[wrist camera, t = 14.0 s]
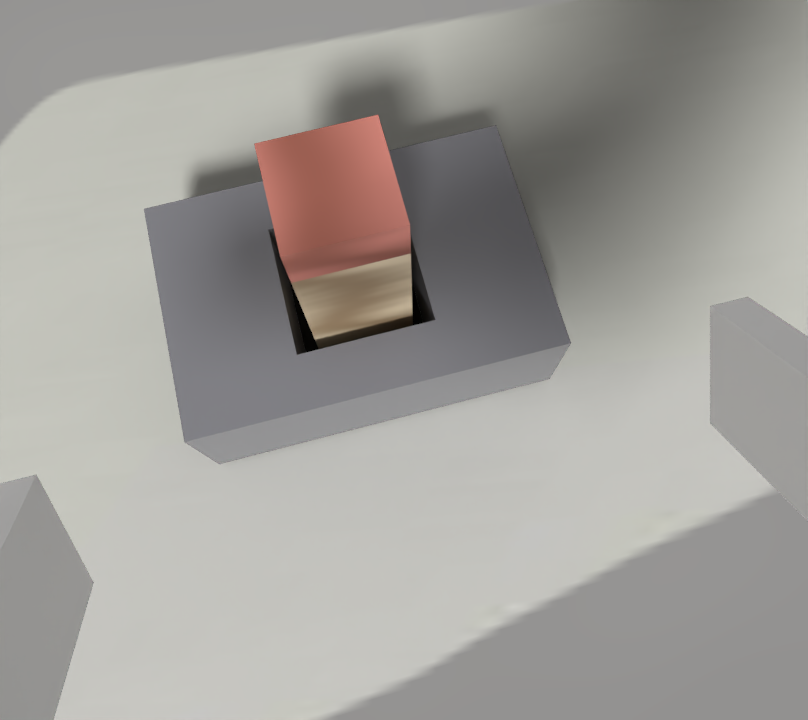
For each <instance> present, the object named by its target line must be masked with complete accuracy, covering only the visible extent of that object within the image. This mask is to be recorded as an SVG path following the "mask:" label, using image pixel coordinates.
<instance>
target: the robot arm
mask: <svg viewBox="0 0 808 720" xmlns="http://www.w3.org/2000/svg"><path fill="white" fill-rule="evenodd" d="M710 424H711V425H712V426H713V427H714V428H715V429H716V430H717V431H718V432H719V433H720V434H721V435H722V436H723V437H724V438H725V439H726V440H727V441H728V442H729V443H730V444H731V445H732V446H733V447H734V448H735V449H736V450H737V451H738V452H739V453H740V454H741V455H742V456H743V457H744V458H745V459H746V460H747V461H748V462H749V463H750V464H751V465H752V466H753V467H754V468H755V469H756V470H757V471H758V472H759V473H760V474H761V475H762V476H763V477H764V478H765V479H766V480H767V481H768V482H769V483H770V484H771V485H772V486H773V487H774V488H775V489H776V490H777V491H778V492H779V493H780V494H781V495H782V496H783V497H784V498H785V499H786V500H787V501H788V502H789V503H790V504H791V505H792V506H793V507H794V508H795V509H796V510H797V511H798V512H799V513H800V514H801V515H802V516H803V517H804V518H805V519H806V520H807V521H808V336H806V335H805V334H803V333H802V332H800V331H799V330H797V329H796V328H794V327H793V326H791V325H790V324H788V323H787V322H785V321H784V320H782V319H781V318H779V317H778V316H776V315H775V314H773V313H772V312H770V311H769V310H767V309H766V308H764V307H763V306H761V305H760V304H758V303H757V302H755V301H754V300H752V299H751V298H749V297H745V298H741V299H737V300H733V301H729V302H725V303H721V304H717V305H713V306H710ZM93 583H94V582H93V580H92V579H91V577H90V575H89V573H88V571H87V569H86V567H85V565H84V563H83V562H82V560H81V558H80V556H79V554H78V552H77V550H76V548H75V546H74V545H73V543H72V541H71V539H70V537H69V535H68V533H67V531H66V529H65V528H64V526H63V524H62V522H61V520H60V518H59V516H58V514H57V512H56V511H55V509H54V507H53V505H52V503H51V501H50V499H49V497H48V495H47V494H46V492H45V490H44V488H43V486H42V484H41V482H40V480H39V478H38V477H37V475H33V476H29V477H25V478H21V479H17V480H13V481H9V482H5V483H1V484H0V720H54V716H55V713H56V709H57V706H58V703H59V699H60V696H61V692H62V689H63V686H64V682H65V679H66V675H67V672H68V668H69V665H70V662H71V658H72V655H73V651H74V648H75V645H76V641H77V638H78V634H79V631H80V627H81V624H82V621H83V617H84V614H85V610H86V607H87V604H88V600H89V597H90V593H91V590H92V586H93Z"/></svg>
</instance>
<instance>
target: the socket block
mask: <svg viewBox="0 0 808 720" xmlns="http://www.w3.org/2000/svg"><path fill="white" fill-rule="evenodd" d="M389 154H390V157H391V161H392V164H393V168H394V171H395V174H396V178H397V181H398V185H399V188H400V192H401V195H402V199H403V202H404V205H405V209H406V212H407V216H408V219H409V223H410V238H411V273H412V285H413V289H414V292H415V296H416V299H417V303H418V306H419V310H420V313H421V317H422V321H423V323H421V324H417V325H413V326H409V327H405V328H401V329H397V330H393V331H389V332H385V333H381V334H377V335H373V336H369V337H365V338H362V339H358V340H354V341H350V342H346V343H342V344H338V345H334V346H330V347H326V348H322V349H318V350H314V351H310V352H306V350H305V346H304V342H303V337H302V333H301V329H300V324H299V320H298V316H297V312H296V307H295V303H294V299H293V294H292V290H291V286H290V281H289V276H288V274H287V272H286V269H285V267H284V265H283V262H282V260H281V257H280V254H279V249H278V245H277V241H276V236H275V232H274V227H273V223H272V219H271V214H270V210H269V206H268V201H267V197H266V193H265V188H264V184H263V181H259V182H255V183H251V184H247V185H243V186H238V187H234V188H230V189H226V190H222V191H217V192H213V193H209V194H205V195H201V196H196V197H192V198H188V199H184V200H180V201H175V202H171V203H167V204H163V205H159V206H154V207H150V208H146V209H144V212H145V218H146V223H147V229H148V235H149V241H150V246H151V252H152V258H153V264H154V269H155V275H156V281H157V287H158V292H159V298H160V304H161V310H162V315H163V321H164V327H165V333H166V338H167V344H168V350H169V356H170V361H171V367H172V373H173V379H174V384H175V390H176V396H177V402H178V407H179V413H180V419H181V425H182V430H183V436H184V442H185V443H187V444H188V445H190V446H191V447H193V448H195V449H196V450H198V451H199V452H201V453H202V454H204V455H206V456H207V457H209V458H210V459H212V460H213V461H215V462H217V463H218V464H221V463H225V462H229V461H233V460H237V459H241V458H244V457H248V456H252V455H256V454H260V453H264V452H268V451H272V450H275V449H279V448H283V447H287V446H291V445H295V444H299V443H303V442H306V441H310V440H314V439H318V438H322V437H326V436H330V435H334V434H337V433H341V432H345V431H349V430H353V429H357V428H361V427H365V426H368V425H372V424H376V423H380V422H384V421H388V420H392V419H396V418H399V417H403V416H407V415H411V414H415V413H419V412H423V411H426V410H430V409H434V408H438V407H442V406H446V405H450V404H454V403H457V402H461V401H465V400H469V399H473V398H477V397H481V396H485V395H488V394H492V393H496V392H500V391H504V390H508V389H512V388H516V387H519V386H523V385H527V384H531V383H535V382H539V381H543V380H547V379H550V377H551V375H552V374H553V372H554V370H555V369H556V367H557V365H558V364H559V362H560V360H561V359H562V357H563V356H564V354H565V352H566V351H567V349H568V347H569V346H570V344H571V342H570V339H569V336H568V333H567V330H566V327H565V324H564V322H563V319H562V316H561V313H560V310H559V307H558V304H557V301H556V298H555V295H554V292H553V290H552V287H551V284H550V281H549V278H548V275H547V272H546V269H545V266H544V263H543V261H542V258H541V255H540V252H539V249H538V246H537V243H536V240H535V237H534V234H533V231H532V229H531V226H530V223H529V220H528V217H527V214H526V211H525V208H524V205H523V202H522V200H521V197H520V194H519V191H518V188H517V185H516V182H515V179H514V176H513V173H512V171H511V168H510V165H509V162H508V159H507V156H506V153H505V150H504V147H503V144H502V141H501V139H500V136H499V133H498V130H497V127H496V125H495V126H491V127H486V128H482V129H478V130H474V131H470V132H465V133H461V134H457V135H453V136H449V137H444V138H440V139H436V140H432V141H428V142H423V143H419V144H415V145H411V146H407V147H402V148H398V149H394V150H390V151H389Z"/></svg>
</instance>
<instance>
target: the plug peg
mask: <svg viewBox="0 0 808 720" xmlns="http://www.w3.org/2000/svg"><path fill="white" fill-rule="evenodd" d="M254 145H255V149H256V153H257V158H258V162H259V167H260V171H261V175H262V180H263V184H264V188H265V193H266V197H267V201H268V206H269V210H270V214H271V219H272V223H273V227H274V232H275V236H276V241H277V245H278V249H279V254H280V257H281V260H282V262H283V265H284V267H285V269H286V272H287V274H288V276H289V279H290V281H291V284H292V286H293V288H294V291H295V293H296V296H297V298H298V300H299V303H300V305H301V308H302V310H303V312H304V315H305V317H306V320H307V322H308V324H309V327H310V329H311V331H312V334H313V336H314V339H315V341H316V343H317V346H318V348H319V349H322V348H326V347H330V346H334V345H338V344H342V343H346V342H350V341H354V340H358V339H362V338H365V337H369V336H373V335H377V334H381V333H385V332H389V331H393V330H397V329H401V328H405V327H409V326H413V309H412V273H411V238H410V223H409V219H408V216H407V212H406V209H405V205H404V202H403V199H402V195H401V192H400V188H399V185H398V181H397V178H396V174H395V171H394V168H393V164H392V161H391V157H390V154H389V150H388V147H387V144H386V140H385V137H384V133H383V130H382V126H381V123H380V119H379V116H378V115H374V116H370V117H366V118H362V119H357V120H353V121H349V122H345V123H340V124H336V125H332V126H328V127H323V128H319V129H315V130H311V131H306V132H302V133H298V134H294V135H289V136H285V137H281V138H277V139H272V140H268V141H264V142H260V143H255V144H254Z"/></svg>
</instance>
